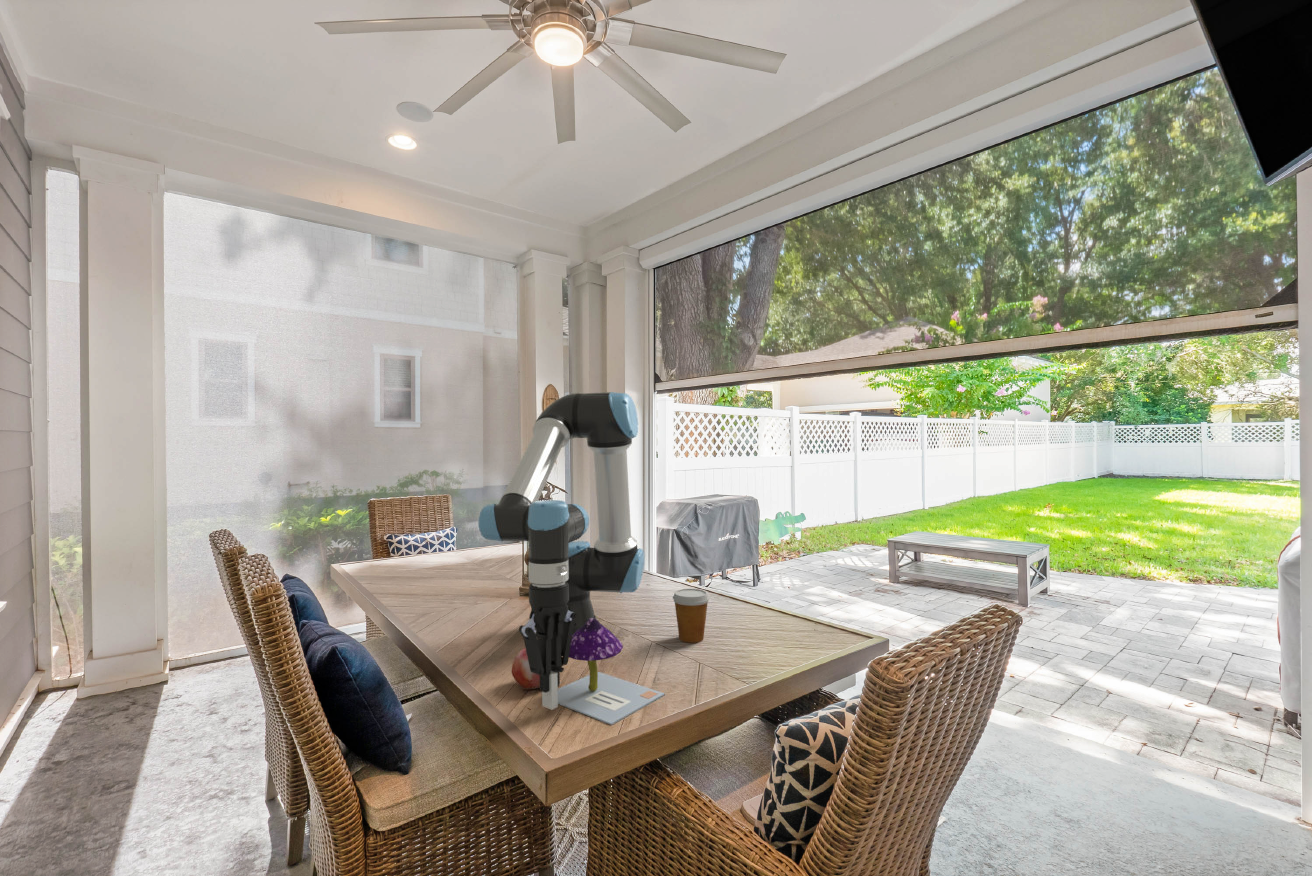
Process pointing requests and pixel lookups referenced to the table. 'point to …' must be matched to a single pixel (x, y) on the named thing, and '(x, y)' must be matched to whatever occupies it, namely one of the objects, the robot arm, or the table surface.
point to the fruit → (524, 672)
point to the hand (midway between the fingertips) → (549, 706)
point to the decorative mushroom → (594, 647)
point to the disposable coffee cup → (691, 613)
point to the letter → (606, 698)
